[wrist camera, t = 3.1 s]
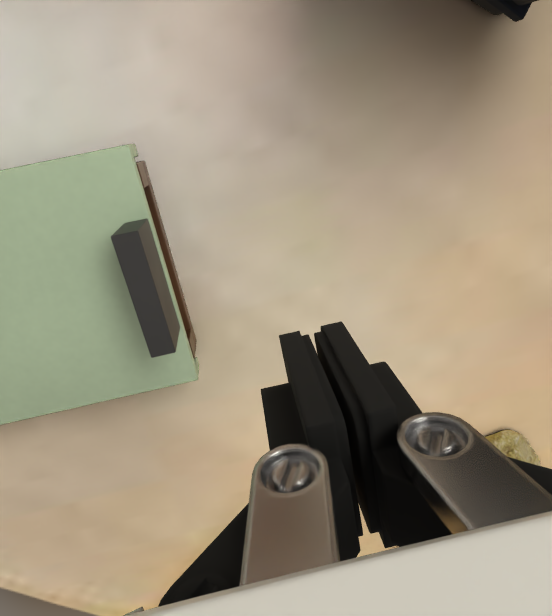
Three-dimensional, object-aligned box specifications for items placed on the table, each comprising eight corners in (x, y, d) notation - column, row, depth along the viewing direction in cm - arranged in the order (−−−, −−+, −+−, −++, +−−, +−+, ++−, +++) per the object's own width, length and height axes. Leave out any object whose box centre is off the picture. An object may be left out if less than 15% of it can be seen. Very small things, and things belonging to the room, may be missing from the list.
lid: (-51, 421, 26) (-105, 480, 22) (-175, 206, 21) (-277, 225, 17) (199, 365, 27) (196, 410, 23) (134, 143, 22) (114, 146, 18)
